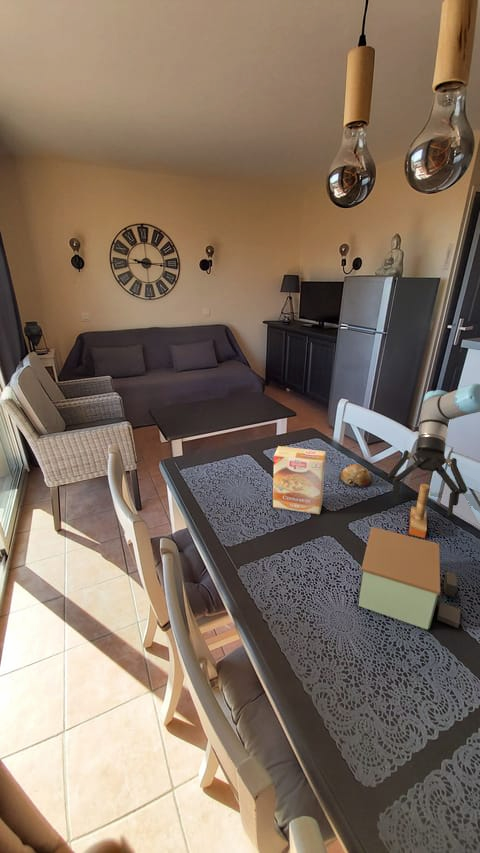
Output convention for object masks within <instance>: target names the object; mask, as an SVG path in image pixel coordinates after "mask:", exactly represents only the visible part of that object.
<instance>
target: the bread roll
mask: <svg viewBox="0 0 480 853" xmlns="http://www.w3.org/2000/svg"><path fill="white" fill-rule="evenodd" d="M340 479H341V481H343V482H344V484H346V485H348V486H351V487H359V488H360V487H361V488H362V487H363V488H364V487H367V486H369V485H370V483H371V473H370V471H369V470H368V469H367V468H366V467H365V466H363V465H361V464H359V463H354V464H350V465H348V466H346V467H344V469H343V470H342V471H341V474H340Z"/></svg>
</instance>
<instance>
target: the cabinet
mask: <svg viewBox="0 0 480 853" xmlns="http://www.w3.org/2000/svg"><path fill="white" fill-rule="evenodd" d="M440 554H441V553H440V543H439V542H434V541H429V540H427V539H422V538H417V537H414V536H411V535H407V534H402V533H398V532H395V531H391V530H386V529H383V528H379V527H374V526H371V527H370V531H369V536H368V539H367V544H366V548H365V552H364V556H363V561H362V564H361V569H360V570H361V572H362V578H361V584H360V593H359V599H358V607H361V608H364V609H366V610H370V611H372V612H375V613H378V614H381V615H384V616H387V617H389V618H392V619H395V620H399V621H401V622H404V623H407V624H410V625H413V626H416V627H418V628H422V629H424V630H429V629H431V625H432V621H433V618H434V614H435V609H436V606H437V602H438V598H439V596H441V564H440V563H441V560H440V558H441V557H440Z"/></svg>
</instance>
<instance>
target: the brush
mask: <svg viewBox="0 0 480 853" xmlns="http://www.w3.org/2000/svg"><path fill="white" fill-rule="evenodd" d="M430 490H431V486H430V485H429V484H426V483H421V484H420V486H419V491H418V496H417V501H416V506H413V505H411V508H410V513H409V532H408V534H409V536H413V537H414V536H415V537H419V538H423V539H425V538H426V535H427V531H428V527H427V525H428V523H427V522H428V521H427V520H428V518H427V516H428V515H427V504H428V499H429V495H430Z"/></svg>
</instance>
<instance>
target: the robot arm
mask: <svg viewBox="0 0 480 853" xmlns="http://www.w3.org/2000/svg"><path fill="white" fill-rule="evenodd" d="M420 412H421V414H420V419H419V420H420V421H419V425H418V426H419V427H418V434H417V441H416V446H415V452H414V453H413V452H410V451H408V450H407V449H405V450H404V451H403V455H402V457H401V458H400V459H399V460H398V462H397V463H396V464H395V466H394V467H393V468H392V469H391V471H390V472H389V473H388V474H387V480H390V481H392V488H391V489H392V490H391V491H392V494H395V498H394V506H398V504H399V503H398V502H399V497H400V490H401V484H402V480H404V478H406V477H408V476H409V475H410V474H411V473H414V471H417V470H418V469H420V470H421V471H428V472H432V473H433V472H436V473H437V474H438V475H439V476H440V478H441V479H442V481H443V482H444V483H445V484H446V485H447V487H448V488H449V489H450V493H449V499H448V506H447V507H448V508H447V509H448V510H447V518H452V517H453V512H454V511H453V510H454V507H456V506H458V504H459V498H460V495H461V494H462V495H464V494H466V493H467V492H468V487H467V486H466V483H465V480H464V478H463V476H462V474H461V472H460V470H459V467H458V459H457V458H456V457H452V458H446V457H445V453H446V446H447V442H446V441H447V438H448V437H447V436H448V429H449V422H450V420H454V419H456V418H461V417H464V416H467V415H472V414H477V413H480V383H471V384H468V385H464V386H461V388H458V389H456V390H453V391H450V392H448V391H446V390H441V389H436V390H430V391H427V392H426V393H425V395H424V396H423V402H422V403H421V411H420ZM411 458H412V459H413V460H414V462H413V463H412V464H411V465H410V466H408V467H407V468H406V469H404V470H403V471H401V472H400V473H399V474H398V472H399V471H400V470H401V468H402V467H404V465H405V464H406V462H407V460H408V461H409V460H410V459H411ZM445 464H447V466H448V467H449V468H450V470H451V474H452V476H453V478H454V481H455V482H454V481H453V479H452V478H451V477H450V475H449V474H448V472H446V470H445V468H444V465H445ZM396 474H397V475H396Z"/></svg>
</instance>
